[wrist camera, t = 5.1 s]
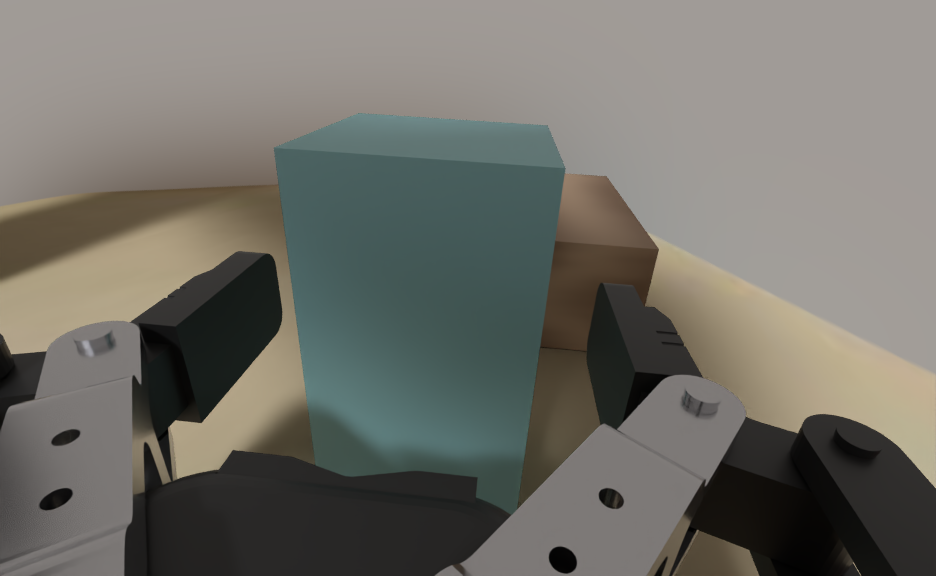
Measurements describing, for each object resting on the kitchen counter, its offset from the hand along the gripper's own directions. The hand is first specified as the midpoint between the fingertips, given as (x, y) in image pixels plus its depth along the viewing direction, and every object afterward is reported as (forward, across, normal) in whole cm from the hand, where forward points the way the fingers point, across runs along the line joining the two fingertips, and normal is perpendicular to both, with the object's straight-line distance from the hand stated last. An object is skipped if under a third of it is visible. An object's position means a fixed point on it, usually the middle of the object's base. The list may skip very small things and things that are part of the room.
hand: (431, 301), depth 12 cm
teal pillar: (0, 0, +6) cm, 6 cm away
